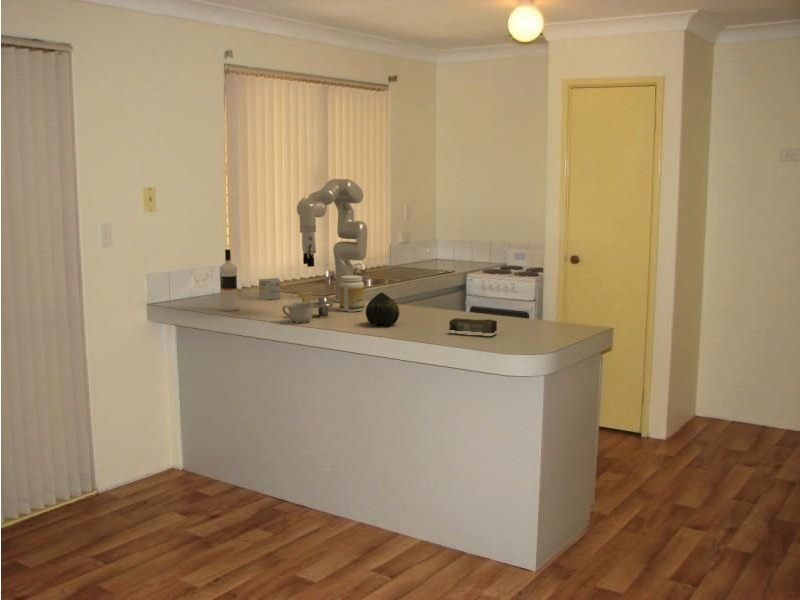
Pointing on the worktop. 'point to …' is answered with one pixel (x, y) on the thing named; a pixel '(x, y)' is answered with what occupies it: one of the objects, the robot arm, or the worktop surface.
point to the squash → (382, 310)
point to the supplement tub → (351, 293)
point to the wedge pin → (306, 297)
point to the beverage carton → (473, 325)
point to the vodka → (228, 285)
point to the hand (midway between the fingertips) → (308, 265)
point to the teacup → (299, 312)
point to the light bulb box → (269, 289)
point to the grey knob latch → (322, 305)
